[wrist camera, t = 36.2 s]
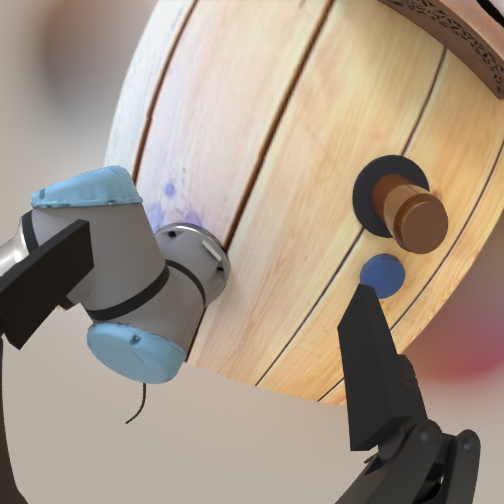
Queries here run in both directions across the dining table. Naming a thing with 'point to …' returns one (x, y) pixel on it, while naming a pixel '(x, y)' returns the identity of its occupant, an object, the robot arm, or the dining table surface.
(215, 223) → the dining table surface
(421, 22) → the tissue box cover
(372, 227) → the coaster
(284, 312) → the dining table surface
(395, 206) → the jar
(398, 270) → the lid
